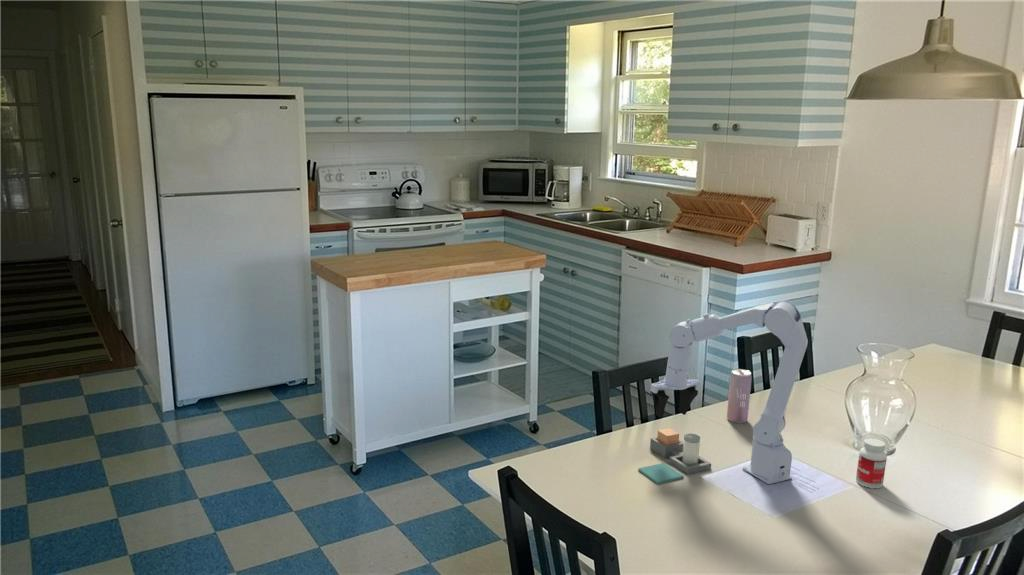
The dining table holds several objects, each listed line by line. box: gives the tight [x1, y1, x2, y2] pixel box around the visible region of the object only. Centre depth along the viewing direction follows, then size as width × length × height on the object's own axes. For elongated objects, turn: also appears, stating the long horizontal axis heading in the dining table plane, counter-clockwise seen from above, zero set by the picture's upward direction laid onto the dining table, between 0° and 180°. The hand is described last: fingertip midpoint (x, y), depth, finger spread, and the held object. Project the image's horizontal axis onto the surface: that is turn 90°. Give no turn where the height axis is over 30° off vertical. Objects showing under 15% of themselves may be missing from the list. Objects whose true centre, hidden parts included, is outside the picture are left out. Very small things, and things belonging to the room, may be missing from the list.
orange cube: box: [656, 427, 680, 446], centre depth 207 cm, size 4×4×4 cm
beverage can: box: [726, 368, 752, 424], centre depth 229 cm, size 6×6×15 cm
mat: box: [637, 462, 685, 485], centre depth 194 cm, size 8×8×1 cm
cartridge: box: [682, 433, 701, 466], centre depth 198 cm, size 4×4×8 cm
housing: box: [649, 436, 712, 475], centre depth 203 cm, size 16×8×3 cm, turn 26°
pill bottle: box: [855, 438, 888, 489], centre depth 191 cm, size 6×6×11 cm
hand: (670, 414), depth 206 cm, fingers open, 7 cm apart
